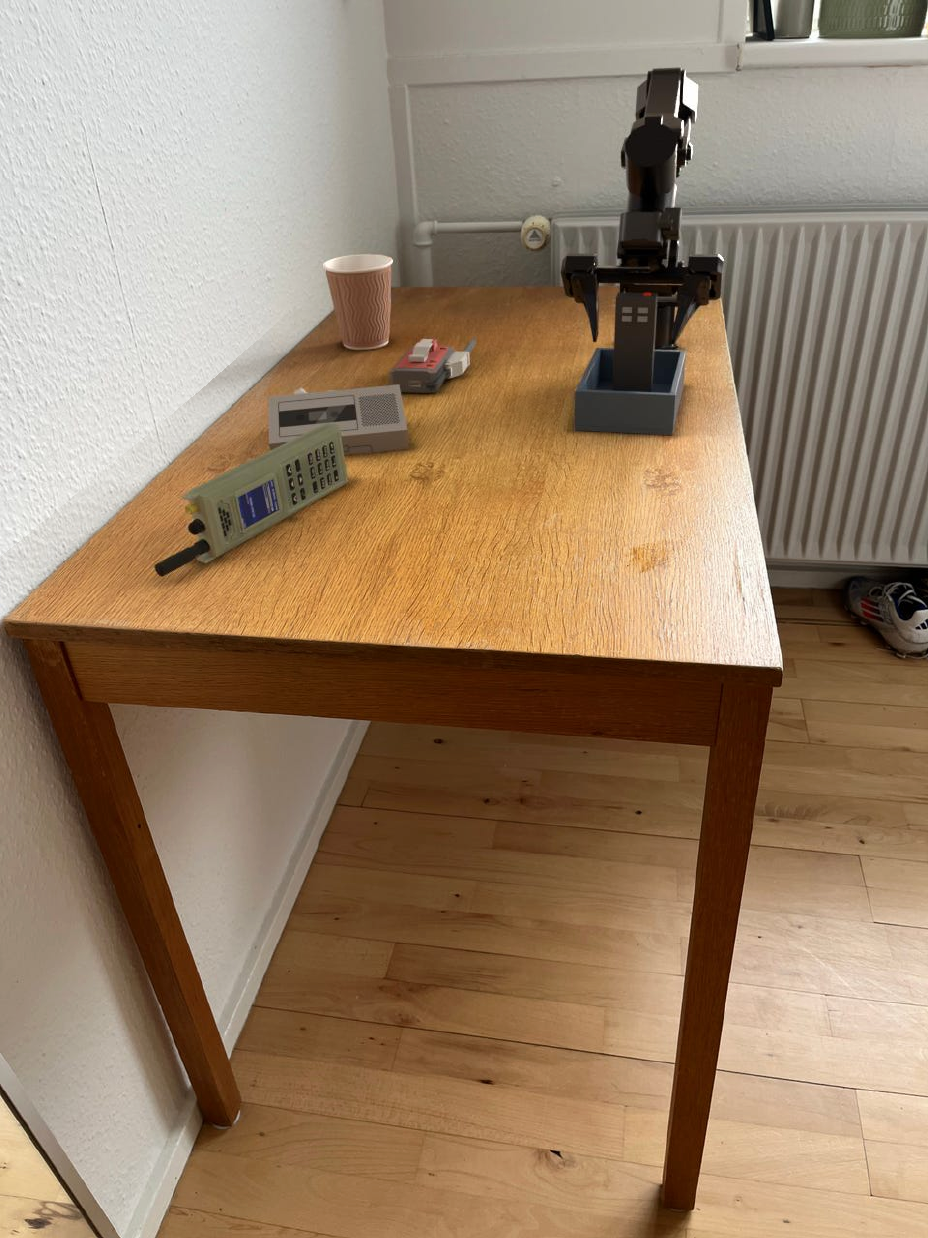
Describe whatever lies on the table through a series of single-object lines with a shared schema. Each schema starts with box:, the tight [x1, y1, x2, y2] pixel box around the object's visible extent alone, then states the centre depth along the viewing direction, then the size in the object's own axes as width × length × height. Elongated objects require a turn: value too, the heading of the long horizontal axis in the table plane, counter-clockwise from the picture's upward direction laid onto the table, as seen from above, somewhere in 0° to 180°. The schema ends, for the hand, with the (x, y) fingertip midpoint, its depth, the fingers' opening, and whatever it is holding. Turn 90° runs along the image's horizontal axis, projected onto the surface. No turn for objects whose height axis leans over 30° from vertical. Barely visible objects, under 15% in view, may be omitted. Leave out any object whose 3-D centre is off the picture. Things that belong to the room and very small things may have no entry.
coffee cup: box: [322, 253, 394, 351], centre depth 143 cm, size 10×10×12 cm
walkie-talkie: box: [388, 338, 478, 394], centre depth 132 cm, size 9×4×20 cm
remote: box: [612, 291, 658, 392], centre depth 114 cm, size 2×5×13 cm, turn 75°
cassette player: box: [267, 384, 410, 456], centre depth 112 cm, size 16×3×10 cm
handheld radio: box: [154, 423, 349, 577], centre depth 93 cm, size 7×3×25 cm
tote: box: [573, 347, 687, 436], centre depth 116 cm, size 16×11×5 cm
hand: (633, 341), depth 112 cm, fingers open, 9 cm apart
